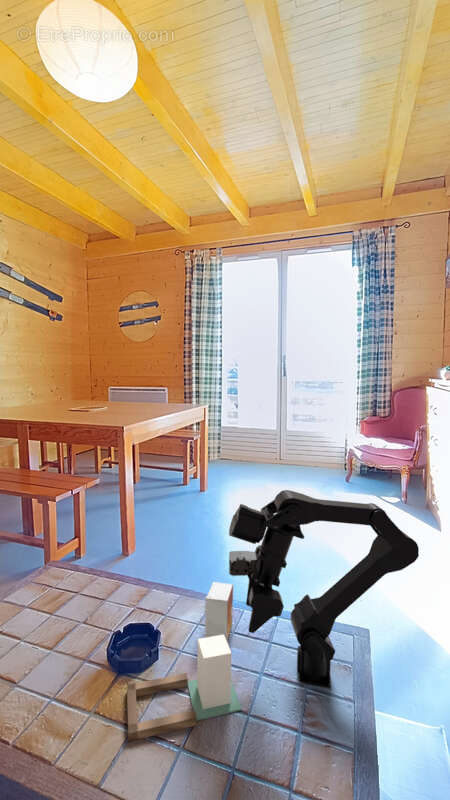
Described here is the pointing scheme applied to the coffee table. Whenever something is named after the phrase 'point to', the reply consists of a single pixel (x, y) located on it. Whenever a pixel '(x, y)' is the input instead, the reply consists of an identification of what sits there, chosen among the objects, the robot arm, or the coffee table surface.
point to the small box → (219, 610)
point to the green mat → (212, 711)
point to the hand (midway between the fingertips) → (249, 617)
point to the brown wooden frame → (157, 724)
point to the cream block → (214, 671)
